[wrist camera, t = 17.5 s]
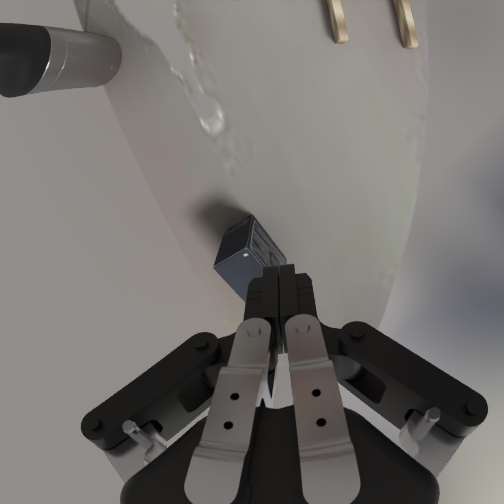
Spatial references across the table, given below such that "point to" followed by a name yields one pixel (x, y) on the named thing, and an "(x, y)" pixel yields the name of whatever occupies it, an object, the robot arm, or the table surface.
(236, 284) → the small box
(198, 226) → the table surface
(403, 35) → the chute
